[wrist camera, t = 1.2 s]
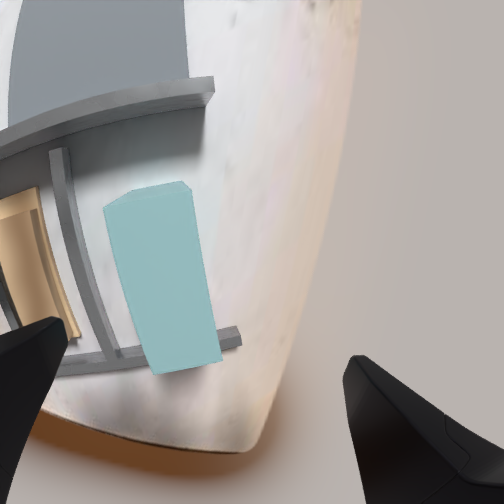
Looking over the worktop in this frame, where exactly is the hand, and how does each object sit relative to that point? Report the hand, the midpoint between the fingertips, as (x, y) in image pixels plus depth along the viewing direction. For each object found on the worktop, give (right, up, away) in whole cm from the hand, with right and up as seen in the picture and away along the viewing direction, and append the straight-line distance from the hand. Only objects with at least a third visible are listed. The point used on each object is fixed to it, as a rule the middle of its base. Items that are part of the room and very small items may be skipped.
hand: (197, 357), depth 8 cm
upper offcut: (-15, +1, +9) cm, 18 cm away
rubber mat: (-10, +20, +5) cm, 23 cm away
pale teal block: (-4, +4, +12) cm, 13 cm away
